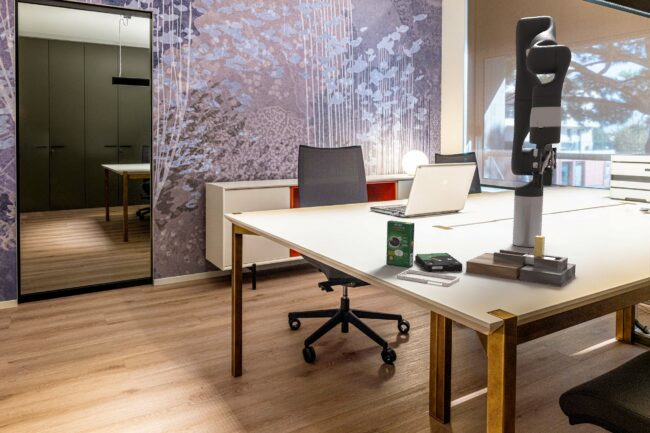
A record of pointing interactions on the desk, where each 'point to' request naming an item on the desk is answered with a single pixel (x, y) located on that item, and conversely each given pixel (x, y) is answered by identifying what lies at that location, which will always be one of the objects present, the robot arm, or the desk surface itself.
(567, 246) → the desk surface
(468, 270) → the door and jamb
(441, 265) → the disk drive
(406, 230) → the coffee box
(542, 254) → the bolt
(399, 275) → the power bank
